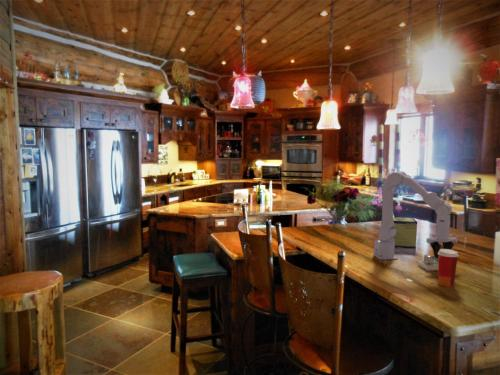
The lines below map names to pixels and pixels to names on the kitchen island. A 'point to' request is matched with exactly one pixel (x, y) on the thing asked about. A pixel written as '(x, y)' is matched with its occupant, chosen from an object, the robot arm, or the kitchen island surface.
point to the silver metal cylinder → (428, 259)
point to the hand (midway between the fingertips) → (440, 257)
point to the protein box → (405, 232)
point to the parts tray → (428, 268)
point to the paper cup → (447, 267)
